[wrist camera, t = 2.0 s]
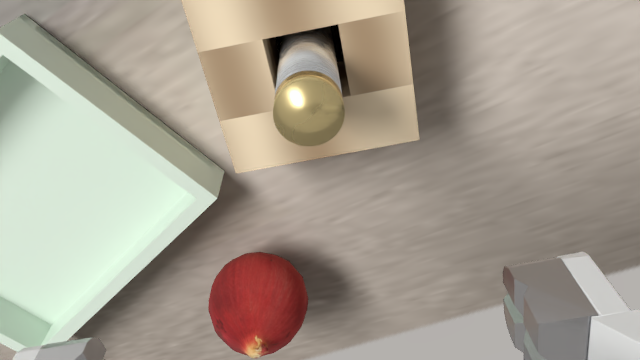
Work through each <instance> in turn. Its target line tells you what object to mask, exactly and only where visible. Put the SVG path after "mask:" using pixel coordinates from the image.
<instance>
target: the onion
mask: <svg viewBox="0 0 640 360" xmlns="http://www.w3.org/2000/svg"><path fill="white" fill-rule="evenodd" d="M307 305H308V296H307V292H306V288H305V284H304V280H303V277H302V276H301V275H300V273H299V272H298V271H297V270H296V269H295V268H294V267H293V265H292V264H291V263H290V262H289V261H287V260H285V259H283V258H281V257H279V256H277V255H273V254H268V253H262V252H257V253H247V254H244V255H242V256H240V257H237V258H235V259H233V260H232V261H230V262H229V263H227V264H226V265H225V266H224V267H223V269H222V270H221V271H220V272H219V274H218V275H217V276H216V278H215V280H214V283H213V285H212V289H211V293H210V298H209V313H210V316H211V319H212V323H213V326H214V329H215V331H216V333H217V335H218V336H219V337H220V338H221V339H222V340H223V341H224V342H225V343H226V344H227V345H228V346H229V347H230V348H231V349H232V350H234V351H236V352H239V353H242V354H245V355H248V356H250V357H251V358H258V357H261V356H263V355H267V354H271V353H274V352H276V351H277V350H279V349H281V348H282V347H284V346H286V345H287V344H288V343H289V342H290V341H291V340H292V339H293V337H294V336H295V335H296V333H297V332H298V331H299V329H300V328H301V326H302V323H303V321H304V317H305V314H306V311H307Z"/></svg>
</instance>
